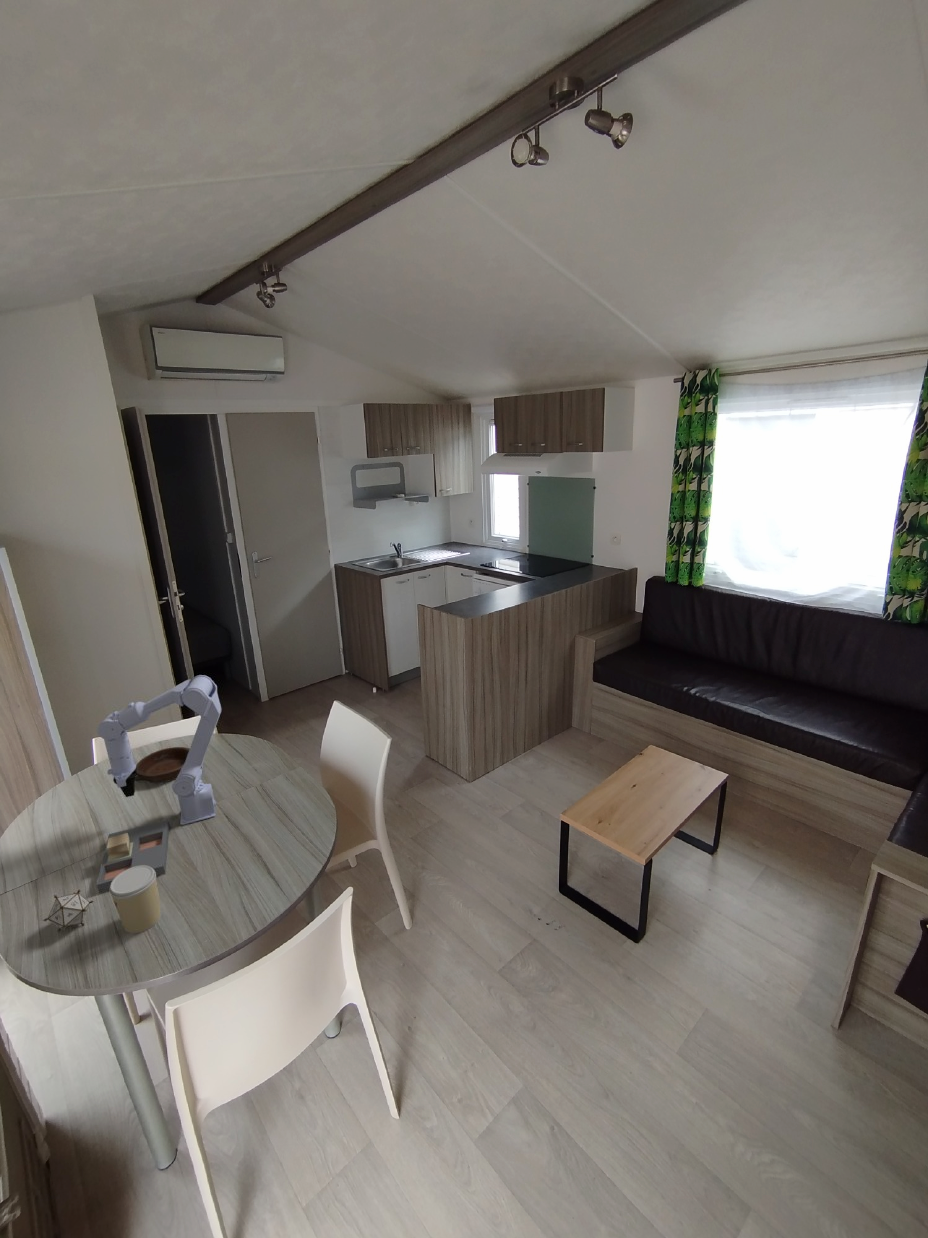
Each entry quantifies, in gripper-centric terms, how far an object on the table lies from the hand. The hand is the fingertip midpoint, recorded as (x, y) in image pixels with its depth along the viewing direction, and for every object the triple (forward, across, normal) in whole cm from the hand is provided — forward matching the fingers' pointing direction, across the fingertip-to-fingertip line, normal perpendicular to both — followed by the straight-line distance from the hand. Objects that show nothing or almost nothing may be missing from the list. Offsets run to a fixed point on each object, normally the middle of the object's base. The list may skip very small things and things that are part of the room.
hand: (130, 795), depth 164 cm
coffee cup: (+10, +42, +5) cm, 43 cm away
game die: (+10, +36, -10) cm, 39 cm away
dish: (+10, -26, +7) cm, 29 cm away
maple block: (+7, +17, -2) cm, 18 cm away
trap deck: (+9, +17, +2) cm, 19 cm away
